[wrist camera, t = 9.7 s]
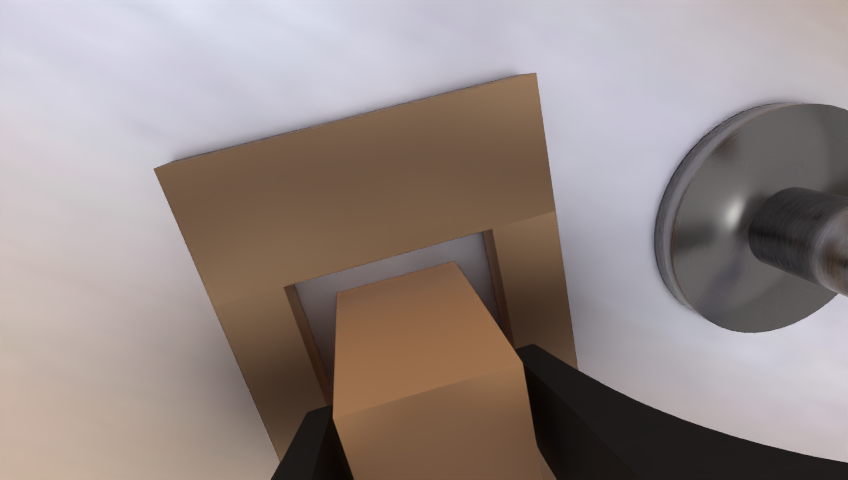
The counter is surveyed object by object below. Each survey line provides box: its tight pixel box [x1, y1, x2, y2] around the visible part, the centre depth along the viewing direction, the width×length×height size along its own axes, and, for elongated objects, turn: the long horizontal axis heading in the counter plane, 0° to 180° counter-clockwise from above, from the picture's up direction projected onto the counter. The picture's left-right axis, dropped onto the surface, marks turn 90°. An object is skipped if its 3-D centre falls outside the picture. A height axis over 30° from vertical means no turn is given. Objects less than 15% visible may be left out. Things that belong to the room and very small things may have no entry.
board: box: [154, 73, 578, 480], centre depth 13 cm, size 14×9×1 cm, turn 13°
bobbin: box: [655, 103, 848, 333], centre depth 12 cm, size 7×7×6 cm
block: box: [333, 261, 542, 480], centre depth 12 cm, size 4×4×6 cm
